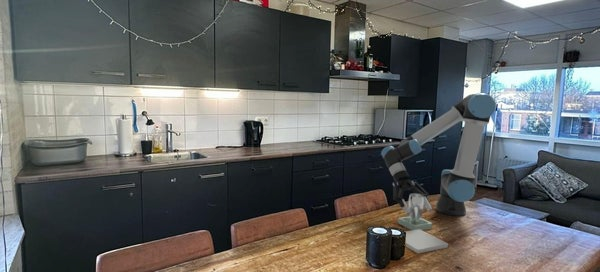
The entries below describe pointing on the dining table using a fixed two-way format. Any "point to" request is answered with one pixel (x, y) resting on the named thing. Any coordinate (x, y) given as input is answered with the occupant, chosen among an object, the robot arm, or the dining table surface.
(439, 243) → the tile board
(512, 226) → the dining table surface
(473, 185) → the robot arm
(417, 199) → the beer glass
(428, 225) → the green square frame
